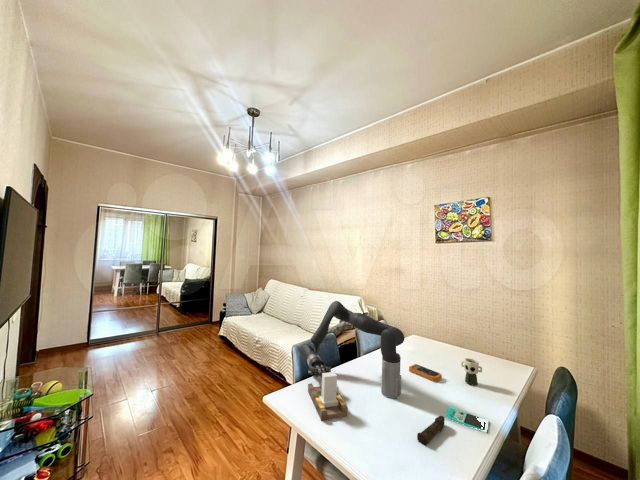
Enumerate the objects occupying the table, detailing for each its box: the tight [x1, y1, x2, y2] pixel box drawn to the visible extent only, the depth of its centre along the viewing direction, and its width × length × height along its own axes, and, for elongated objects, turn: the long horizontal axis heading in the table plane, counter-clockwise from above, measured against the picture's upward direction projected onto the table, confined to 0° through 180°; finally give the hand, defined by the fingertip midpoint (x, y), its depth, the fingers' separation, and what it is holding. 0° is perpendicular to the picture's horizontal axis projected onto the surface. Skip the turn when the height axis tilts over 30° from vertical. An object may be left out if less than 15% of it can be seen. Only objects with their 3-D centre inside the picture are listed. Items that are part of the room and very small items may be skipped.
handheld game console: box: [446, 406, 486, 430], centre depth 116 cm, size 10×16×1 cm, turn 53°
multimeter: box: [408, 363, 443, 383], centre depth 159 cm, size 9×18×3 cm, turn 39°
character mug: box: [460, 357, 483, 386], centre depth 150 cm, size 11×7×13 cm, turn 43°
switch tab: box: [319, 371, 338, 407], centre depth 121 cm, size 6×7×13 cm
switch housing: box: [307, 382, 349, 422], centre depth 124 cm, size 24×12×4 cm, turn 16°
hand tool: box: [416, 415, 445, 446], centre depth 105 cm, size 19×4×5 cm, turn 128°
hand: (324, 377), depth 128 cm, fingers closed
